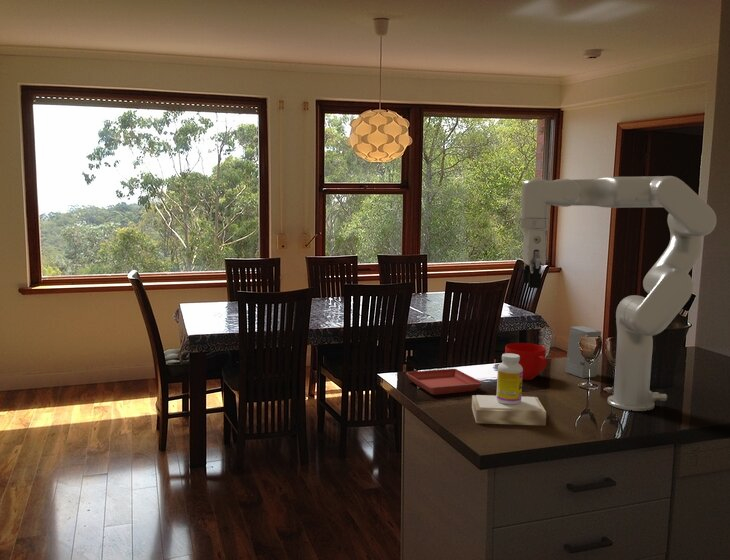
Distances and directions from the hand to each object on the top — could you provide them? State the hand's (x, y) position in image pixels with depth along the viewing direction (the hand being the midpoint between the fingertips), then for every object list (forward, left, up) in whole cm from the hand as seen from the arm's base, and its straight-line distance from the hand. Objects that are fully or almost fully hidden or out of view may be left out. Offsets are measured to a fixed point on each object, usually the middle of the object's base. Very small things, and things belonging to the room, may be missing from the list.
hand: (531, 285), depth 193 cm
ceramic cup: (-5, -27, -34) cm, 44 cm away
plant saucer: (+23, -15, -35) cm, 44 cm away
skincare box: (-24, -34, -34) cm, 54 cm away
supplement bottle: (+7, +12, -31) cm, 33 cm away
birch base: (+7, +12, -34) cm, 37 cm away
